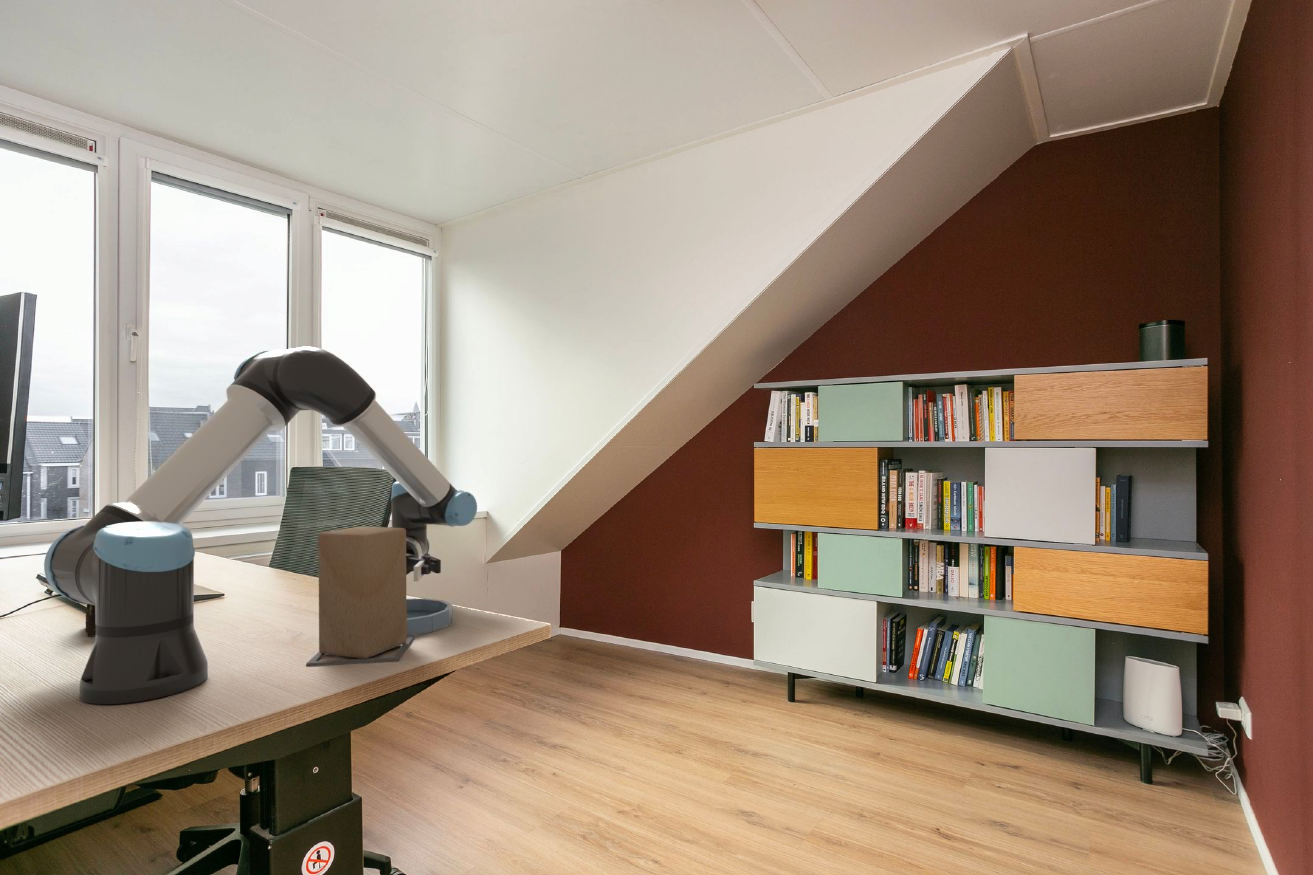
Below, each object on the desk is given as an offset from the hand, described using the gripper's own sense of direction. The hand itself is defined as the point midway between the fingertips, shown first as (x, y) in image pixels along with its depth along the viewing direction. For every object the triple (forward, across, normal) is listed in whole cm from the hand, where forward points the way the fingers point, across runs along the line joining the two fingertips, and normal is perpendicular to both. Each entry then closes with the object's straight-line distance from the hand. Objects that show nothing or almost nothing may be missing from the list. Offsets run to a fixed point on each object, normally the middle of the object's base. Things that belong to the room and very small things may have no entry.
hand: (377, 575), depth 130 cm
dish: (-8, -3, -11) cm, 14 cm away
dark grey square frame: (+10, 0, -11) cm, 15 cm away
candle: (-16, +51, -11) cm, 54 cm away
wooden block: (+10, 0, -11) cm, 14 cm away
